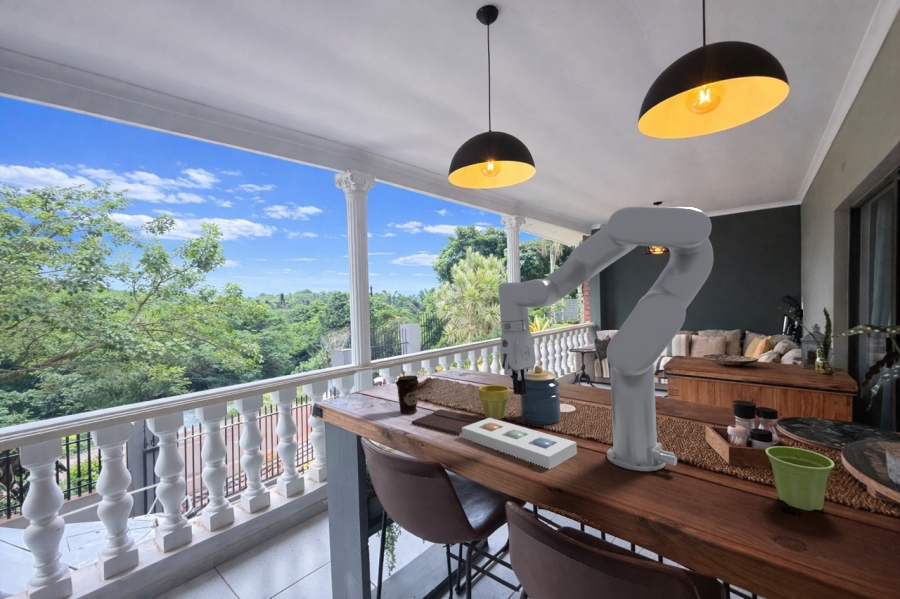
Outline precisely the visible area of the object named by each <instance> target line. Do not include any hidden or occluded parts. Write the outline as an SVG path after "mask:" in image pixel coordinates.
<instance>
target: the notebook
mask: <svg viewBox="0 0 900 599" xmlns="http://www.w3.org/2000/svg"><path fill="white" fill-rule="evenodd" d="M485 419H487V418H486V417H482V416H477V415H472V414H466V413H462V412H461V413H460V412H456V411H451V410H446V409H441V408H439V409H437V410H435V411H433V412H431V413H429V414H426V415H424V416H421V417H419V418H416V419H414V420H412V421H411V425H412V424H413V425H414V426H416V425H417V427H420V426H421V428H424V427H425V428H426V429H428V428H429V430H432V429H433V430H432V431H436V430H437V431H436V432H441V433H444V432H445V433H444V434H448V433H449V435H452V434H453V435H454V436H456V435H457V436H458V437H459V436H461V435H462V427H465V426H468V425H471V424H473V423H476V422H479V421H482V420H485ZM460 434H461V435H460Z"/></svg>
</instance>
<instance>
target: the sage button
mask: <svg viewBox="0 0 900 599" xmlns="http://www.w3.org/2000/svg"><path fill="white" fill-rule="evenodd" d="M506 436H507V437H510V438H513V439H516V440H517V439H519V438H521V437H524V433H523V432H522V431H518V430H511V431H508V432H506Z"/></svg>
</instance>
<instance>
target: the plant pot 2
mask: <svg viewBox="0 0 900 599" xmlns="http://www.w3.org/2000/svg"><path fill="white" fill-rule="evenodd" d="M765 454H766V456H768V460H769V462H770V463H771V468H772V473H773V476H774V478H773V479H774V484H775V488H776V492H777V498H778V499H779V500H780V501H783V502H784V503H786V504H787V505H788V506H790V507H793V508H796V509H799V510H802V511H814V510H817V511H822V509H823V507H824V503H825V495H826V489H827V482H828V478H829V475H830V474H831V470H833V469H834V467H835V462H834V461H833V460H832V459H830V458H829V457H827V456H825V455H823V454H820V453H819V452H818V453H817V452H814V451H812V450H808V449H807V450H806V449H804V448H799V447H792V446H782V445H781V446H777V445H776V446H770V447H767V448H766V449H765Z"/></svg>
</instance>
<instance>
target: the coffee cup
mask: <svg viewBox="0 0 900 599" xmlns="http://www.w3.org/2000/svg"><path fill="white" fill-rule="evenodd" d="M418 384H419V380H418V376H417V375H410V374H409V375H402V376H400V377H398V378H397V381H396V382H395V385H396V387H397V397H398V405H399V413H400V415H413V414H416V413H418V409H417V405H418V402H419V400H418V396H419V388H418V387H419V385H418Z"/></svg>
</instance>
